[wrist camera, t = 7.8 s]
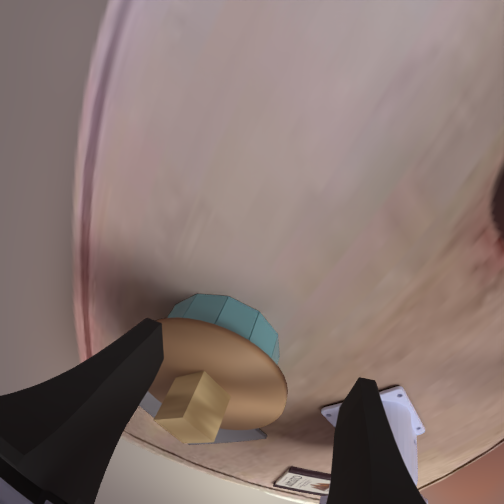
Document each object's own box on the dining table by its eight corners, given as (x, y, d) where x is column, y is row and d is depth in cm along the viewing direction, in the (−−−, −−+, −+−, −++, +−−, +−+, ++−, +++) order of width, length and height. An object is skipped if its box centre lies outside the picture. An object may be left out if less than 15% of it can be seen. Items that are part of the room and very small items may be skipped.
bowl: (300, 361, 25) (292, 401, 22) (217, 384, 29) (203, 417, 26) (231, 276, 22) (211, 313, 19) (150, 316, 27) (128, 348, 23)
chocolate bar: (374, 501, 38) (273, 486, 40) (375, 497, 39) (274, 481, 41) (404, 485, 34) (291, 469, 35) (405, 480, 34) (292, 463, 36)
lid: (317, 410, 21) (308, 466, 17) (201, 427, 27) (184, 469, 23) (216, 292, 18) (182, 353, 14) (108, 341, 24) (76, 383, 19)
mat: (266, 435, 32) (266, 438, 32) (189, 442, 38) (188, 444, 38) (189, 365, 29) (187, 369, 28) (119, 384, 35) (118, 386, 34)
